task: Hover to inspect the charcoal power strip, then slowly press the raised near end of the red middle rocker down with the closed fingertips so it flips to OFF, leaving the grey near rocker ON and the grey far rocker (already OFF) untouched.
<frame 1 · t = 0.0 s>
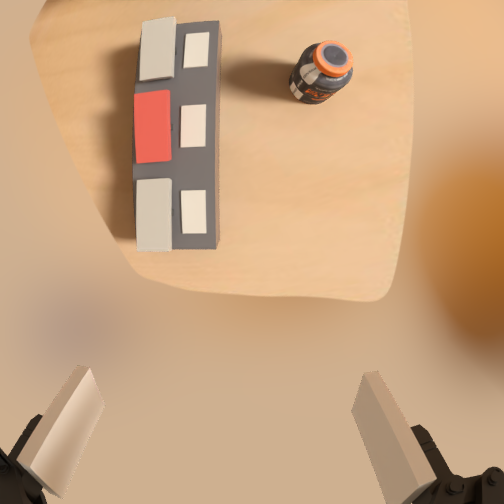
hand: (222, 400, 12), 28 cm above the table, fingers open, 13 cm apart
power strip: (181, 132, 34), on the table
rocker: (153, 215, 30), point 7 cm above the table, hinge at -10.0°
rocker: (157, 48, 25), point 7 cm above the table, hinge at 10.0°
pill bottle: (309, 85, 33), on the table
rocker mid: (152, 126, 27), point 7 cm above the table, hinge at 10.0°
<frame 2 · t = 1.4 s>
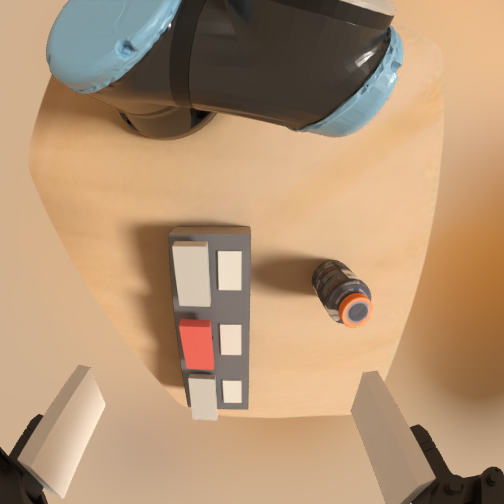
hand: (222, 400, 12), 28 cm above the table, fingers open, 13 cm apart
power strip: (215, 321, 42), on the table
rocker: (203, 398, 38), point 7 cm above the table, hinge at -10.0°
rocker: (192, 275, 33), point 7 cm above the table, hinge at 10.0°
pill bottle: (330, 278, 41), on the table
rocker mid: (197, 346, 35), point 7 cm above the table, hinge at 10.0°
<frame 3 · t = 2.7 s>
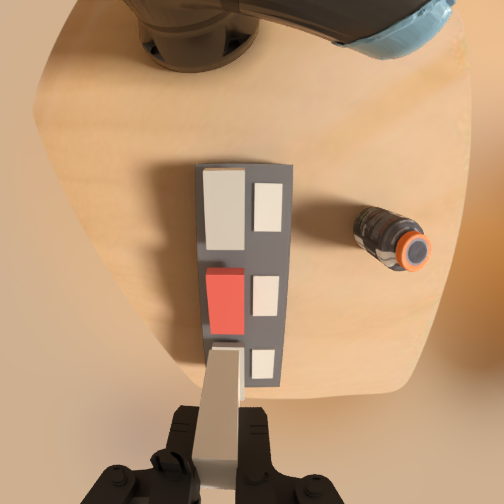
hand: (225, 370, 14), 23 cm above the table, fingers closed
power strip: (243, 278, 37), on the table
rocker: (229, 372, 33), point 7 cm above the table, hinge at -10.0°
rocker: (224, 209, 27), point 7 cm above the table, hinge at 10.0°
pill bottle: (371, 228, 35), on the table
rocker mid: (226, 303, 30), point 7 cm above the table, hinge at 10.0°
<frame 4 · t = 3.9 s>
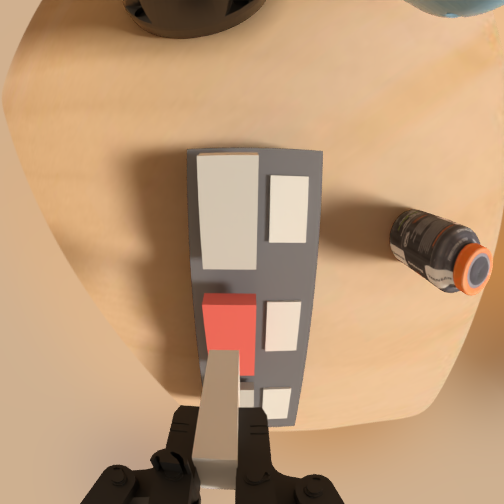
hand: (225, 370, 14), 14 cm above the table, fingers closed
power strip: (251, 300, 29), on the table
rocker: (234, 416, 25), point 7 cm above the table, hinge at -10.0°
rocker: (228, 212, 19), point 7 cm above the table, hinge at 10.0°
pill bottle: (409, 235, 27), on the table
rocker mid: (231, 338, 22), point 7 cm above the table, hinge at 10.0°
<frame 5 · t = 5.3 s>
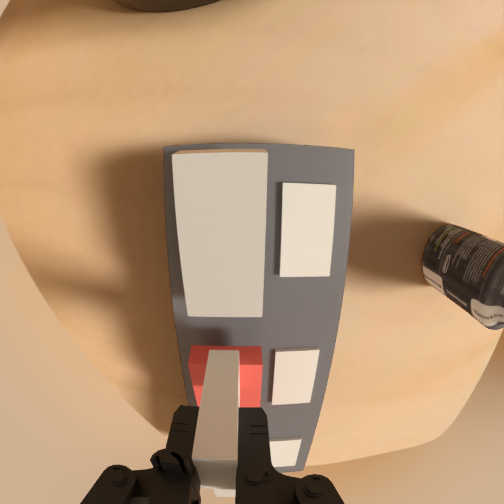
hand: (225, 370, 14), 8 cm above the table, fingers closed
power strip: (254, 338, 22), on the table
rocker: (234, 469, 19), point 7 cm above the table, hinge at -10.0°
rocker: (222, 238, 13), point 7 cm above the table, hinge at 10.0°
pill bottle: (443, 255, 21), on the table
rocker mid: (228, 397, 16), point 7 cm above the table, hinge at 8.8°, touching gripper
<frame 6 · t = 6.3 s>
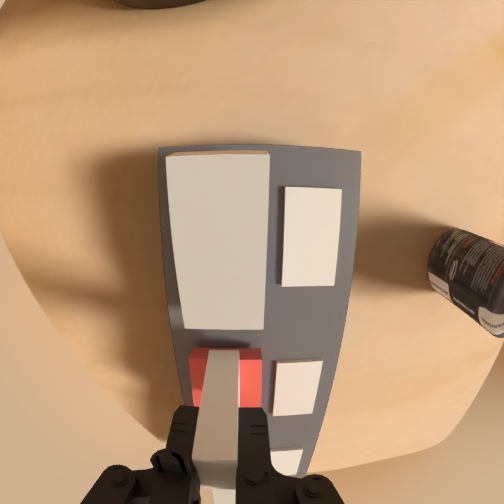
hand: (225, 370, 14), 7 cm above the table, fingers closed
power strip: (254, 347, 22), on the table
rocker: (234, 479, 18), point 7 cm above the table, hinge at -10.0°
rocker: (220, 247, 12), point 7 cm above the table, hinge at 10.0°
pill bottle: (449, 260, 20), on the table
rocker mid: (228, 410, 15), point 7 cm above the table, hinge at -10.3°, touching gripper
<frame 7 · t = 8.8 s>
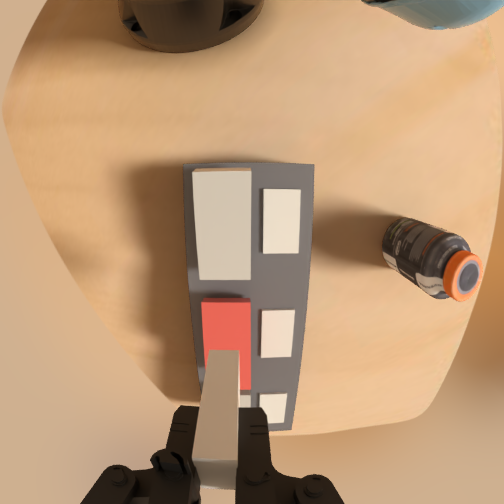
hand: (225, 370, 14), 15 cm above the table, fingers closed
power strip: (248, 308, 29), on the table
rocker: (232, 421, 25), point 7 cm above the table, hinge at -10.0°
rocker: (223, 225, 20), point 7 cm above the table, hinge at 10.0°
pill bottle: (402, 243, 28), on the table
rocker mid: (227, 346, 23), point 7 cm above the table, hinge at -10.3°
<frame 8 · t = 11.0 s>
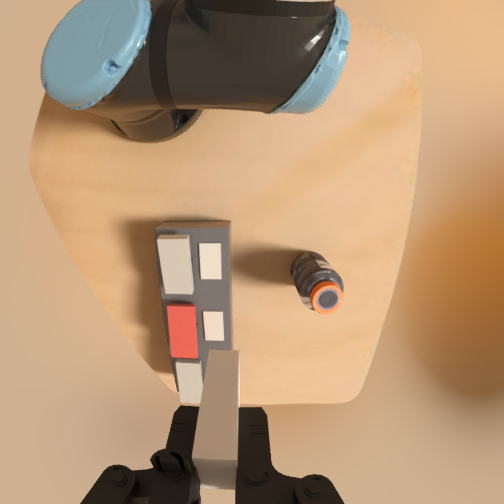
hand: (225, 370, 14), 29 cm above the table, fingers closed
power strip: (201, 309, 45), on the table
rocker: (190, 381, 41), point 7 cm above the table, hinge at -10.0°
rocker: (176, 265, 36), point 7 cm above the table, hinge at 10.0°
pill bottle: (308, 268, 44), on the table
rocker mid: (183, 331, 39), point 7 cm above the table, hinge at -10.3°
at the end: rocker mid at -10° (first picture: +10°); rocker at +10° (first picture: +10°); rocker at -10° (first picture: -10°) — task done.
